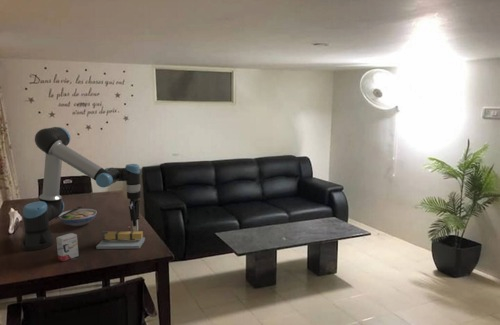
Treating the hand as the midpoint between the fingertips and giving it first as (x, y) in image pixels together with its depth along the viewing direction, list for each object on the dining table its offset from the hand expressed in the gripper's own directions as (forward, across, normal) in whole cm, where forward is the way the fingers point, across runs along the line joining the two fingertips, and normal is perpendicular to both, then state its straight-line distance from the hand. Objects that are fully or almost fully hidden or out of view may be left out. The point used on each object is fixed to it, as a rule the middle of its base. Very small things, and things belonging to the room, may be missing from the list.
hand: (135, 230), depth 224 cm
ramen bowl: (+5, +23, +44) cm, 50 cm away
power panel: (+4, -10, +5) cm, 12 cm away
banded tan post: (+2, -8, +5) cm, 10 cm away
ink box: (+5, -29, +26) cm, 39 cm away
